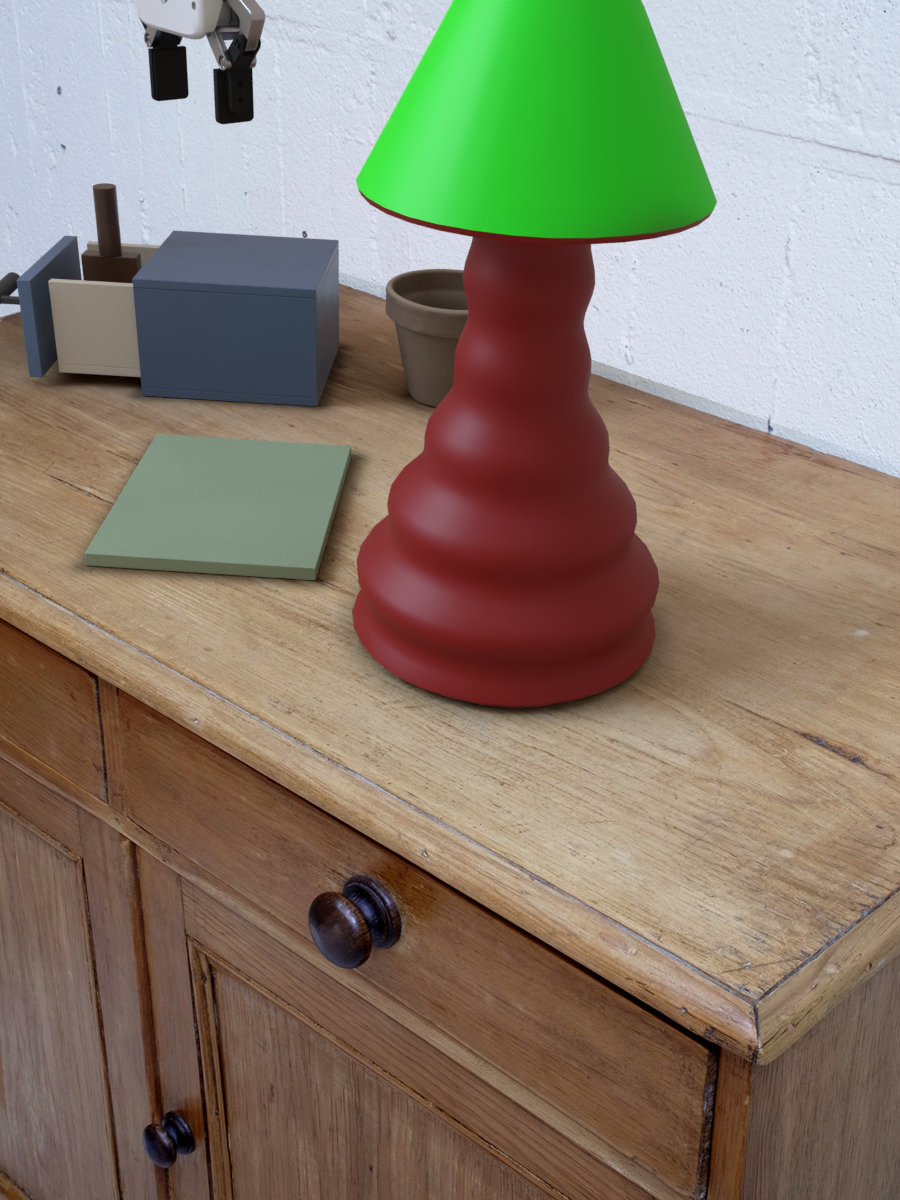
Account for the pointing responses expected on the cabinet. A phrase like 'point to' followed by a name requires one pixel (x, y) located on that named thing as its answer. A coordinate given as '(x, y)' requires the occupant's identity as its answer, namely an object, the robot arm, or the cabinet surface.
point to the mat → (225, 508)
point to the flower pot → (428, 328)
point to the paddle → (108, 242)
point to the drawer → (76, 314)
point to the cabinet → (238, 318)
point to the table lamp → (524, 350)
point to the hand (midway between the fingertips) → (201, 110)
